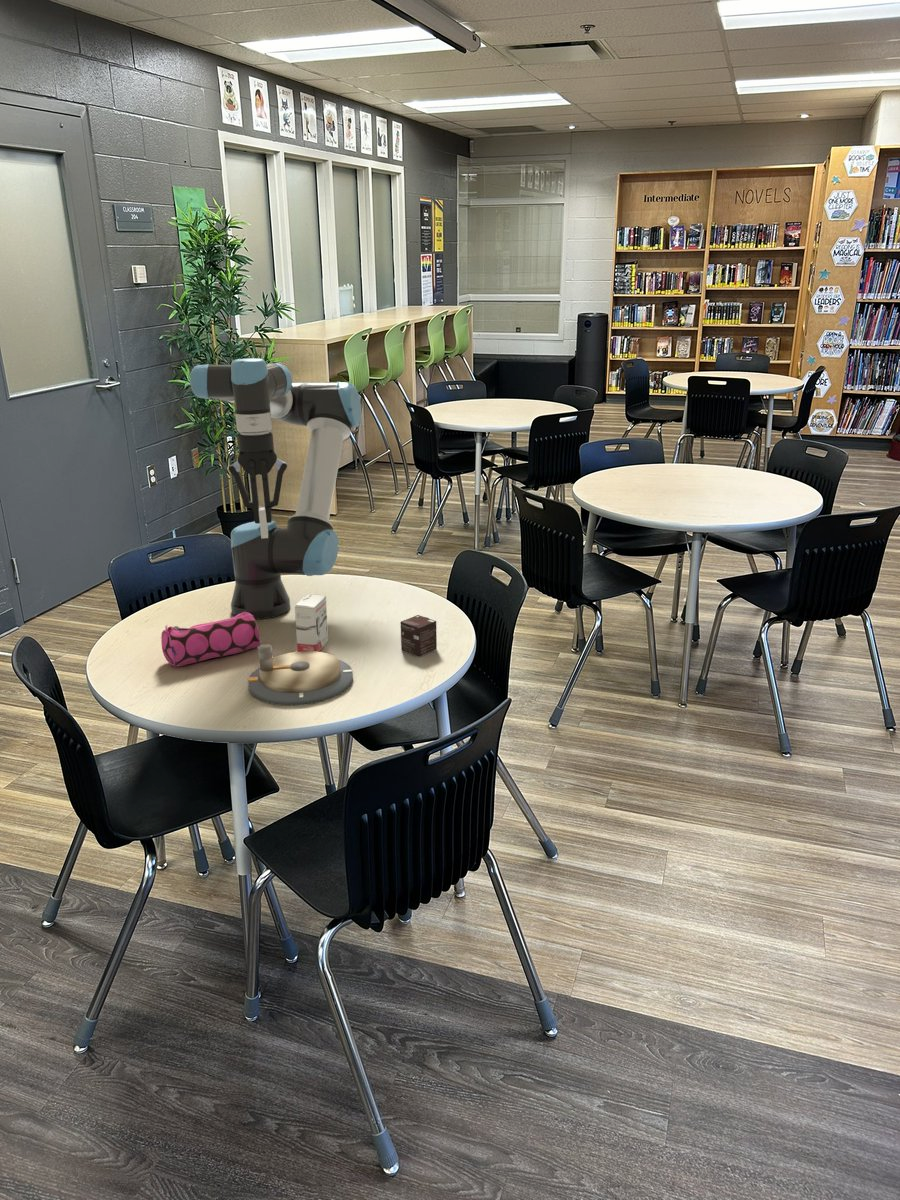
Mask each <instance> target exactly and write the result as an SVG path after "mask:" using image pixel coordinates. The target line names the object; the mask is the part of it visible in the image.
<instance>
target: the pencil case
mask: <svg viewBox="0 0 900 1200" xmlns="http://www.w3.org/2000/svg"><path fill="white" fill-rule="evenodd" d="M160 639H161V640H160V641H161V642H160V643H161V649H162V653H163V656H164V658H165V660H166V661H167V662H168V663H169V664H170V666H172V667H183V666H186V665H190V664H195V663H199V662H203V661H206V660H210V659H214V658H219V657H225V656H230V655H235V654H238V653H243V652H245V651H249V650H251V649H255V648H258V646H260V645H261V638H260V633H259V627H258V623H257V621H256V619H255V618H254V616H253V615H251V614H250V613H248V612H242V613H240V614H238V615H237V616H232V617H230V618H226V619H221V620H217V621H211V622H206V623H204V622H203V623H200V624H199V623H198V624H195V625H192V626H177V625H174V626H171V625H170V626H168V624H166V625H165V629H164V630H162V632H161V637H160Z"/></svg>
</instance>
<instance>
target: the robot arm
mask: <svg viewBox="0 0 900 1200" xmlns="http://www.w3.org/2000/svg"><path fill="white" fill-rule="evenodd" d="M189 377H190V378H189V382H190V383H189V384H190V385H189V386H190V389H191V391H192V393H193V394H194V396H195V397H197V398H199V399H207V400H210V399H215V400H220V401H225V402H229V403H232V404H234V415H235V422H236V423H235V425H236V431H237V432H238V435H237V443H238V457H237V460H236V461H235V462H234V463H231V464H230V465H229V466H228V471H229V472H230V474H232V476H233V477H234V481H235V483H236V486H237V488H238V491H239V494H240V497H241V499H242V502H243V505H244V507H245V508H248V509H251V510H252V511H253V518H254V519H253V521H250V522H246V523H243V524H240V525H238V526H236V527H234V528H233V529H232V530H231V532H230V548H231V554H232V555H231V556H232V565H233V572H234V573H233V574H234V579H235V580H234V581H235V585H234V590H233V593H232V598H231V602H230V608H231V614H232V615H233V617H235V616H237V615H238V614H240V613H242V612H248V613H250V614H251V615H253V616H254V618H255V620H264V619H270V618H274V617H278V616H281V615H284V614H285V613H287V612H288V611H289V610H290V609H291V601H290V599H291V598H290V596H289V595H288V592H287V590H286V588H285V585H284V583H283V580H282V576H281V575H293V576H294V575H295V576H296V575H297V576H298V575H299V576H307V577H313V576H324V575H326V574H328V573H329V572H331V570H332V569H333V567H334V566H335V563H336V561H337V557H338V553H339V543H340V542H339V537H338V535H337V533H336V532H335V530H334V526H333V524H332V523H331V521H330V515H331V510H332V505H333V498H334V494H335V488H336V482H337V478H338V473H339V468H340V467H339V465H340V460H341V455H342V450H343V449H342V448H343V444H344V441H345V440H346V439H348V438H349V437H350V436H351V432H352V428H357V427H359V426H360V424H361V422H362V403H361V399H360V395H359V392H358V389H357V387H356V386H355V384H353V383H352V382H346V381H345V382H343V381H342V382H341V381H332V382H331V381H325V382H324V381H322V382H321V381H297V382H296V381H294V382H293V376H292V373H291V372H290V369H288V368H287V367H286V365H284V364H283V363H278V362H269V363H266V361H265V360H264V359H263V358H254V357H253V358H252V357H251V358H250V357H249V358H237V359H234V360H232V362H231V363H230V364H209V363H206V364H197V365H195V366H194V367H193V368H192V370H191V372H190V376H189ZM272 420H278V421H280V422H283V423H285V424H286V423H288V424H291V425H295V426H301V427H306V428H307V430H308V431H309V433H310V437H309V442H308V446H307V447H308V448H307V452H306V457H305V458H306V459H305V464H304V469H303V473H302V474H303V475H302V478H301V479H302V480H301V482H300V483H301V484H300V489H299V496H298V499H297V504H296V509H295V514H292V515H291V516H290V517H289V518H288V519H287V523H286V527H277V526H278V524H277V522H276V521H275V520H273V518H272V509H273V508H274V507H277V506H278V505H279V501H280V494H281V489H282V483H283V482H282V481H283V476H284V473H285V471H286V469H287V468H288V462H287V461H283V460H281V459H280V458H278V456H277V454H276V452H275V447H274V436H273V433H272V431H271V430H273V423H272ZM240 466H241V467H240ZM274 466H275V468H276V470H277V474H276V480H275V487H274V493H273V497H272V500H271V494H270V485H269V473H270V472H271V470H272V469H273V467H274ZM241 468H243V469H244V471H245V472H246V473H247V474H248V475H249V480H250V489H251V500H252V501H251V500H250V497H249V494H248V491H247V488H246V485H245V483H244V480H243V478H242V475H241ZM258 475H260V476H261V481H262V491H263V502H264V506H263V507H262V506H261V507H260V503H259V501H260V500H259V493H258V492H259V491H258V482H257V481H258V480H257V476H258Z"/></svg>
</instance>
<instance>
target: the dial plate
mask: <svg viewBox="0 0 900 1200" xmlns="http://www.w3.org/2000/svg"><path fill="white" fill-rule="evenodd" d="M337 659H338V660H339V661H340V667H341V675H340V677H339V678H338V680H336V681H335V682H334V683H332V684H330V685H329V686H326V687H324V688H321V689H317V690H313V691H308V692H299V693H286V692H278V691H274V690H271V689H268V688H266V687H265V686H263V685H262V683H261V681H260V672H259V670H260V666H259V667H257V668H255V670H254V671H253V672H251V674H250V675H249V677H248V682H247V683H248V690H249V691H248V692H249V693H250V694H251V696H252V697H254V699H257V700H259V701H261V702H264V703H268V704H272V705H279V706H304V705H310V704H316V703H320V702H324V701H327V700H329V699H333V698H336V697H338V696H340V695H341V694H342V693H345V692H346V691H347V690H348V689H349V688H350V687H351V686H352V684H353V682H354V673H353V672H354V671H353V668H352V667H351V665H349V664H348V663H347V662H345V661H343V660H341V659H339V658H337Z"/></svg>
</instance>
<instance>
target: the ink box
mask: <svg viewBox="0 0 900 1200" xmlns="http://www.w3.org/2000/svg"><path fill="white" fill-rule="evenodd" d="M327 610H328V609H327V596H326V595H322V594H311V593H307V594H305V595H304V596H303V597H302V598H301V599H300V600H298V602H296V603H295V605H294V613H295V633H296V652H300V651H316V652H321V650H322V648H324V646H325V645H326V644H327V643H328V642H329V636H328V635H329V633H328V632H329V631H328V615H327V614H328V613H327Z"/></svg>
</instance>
